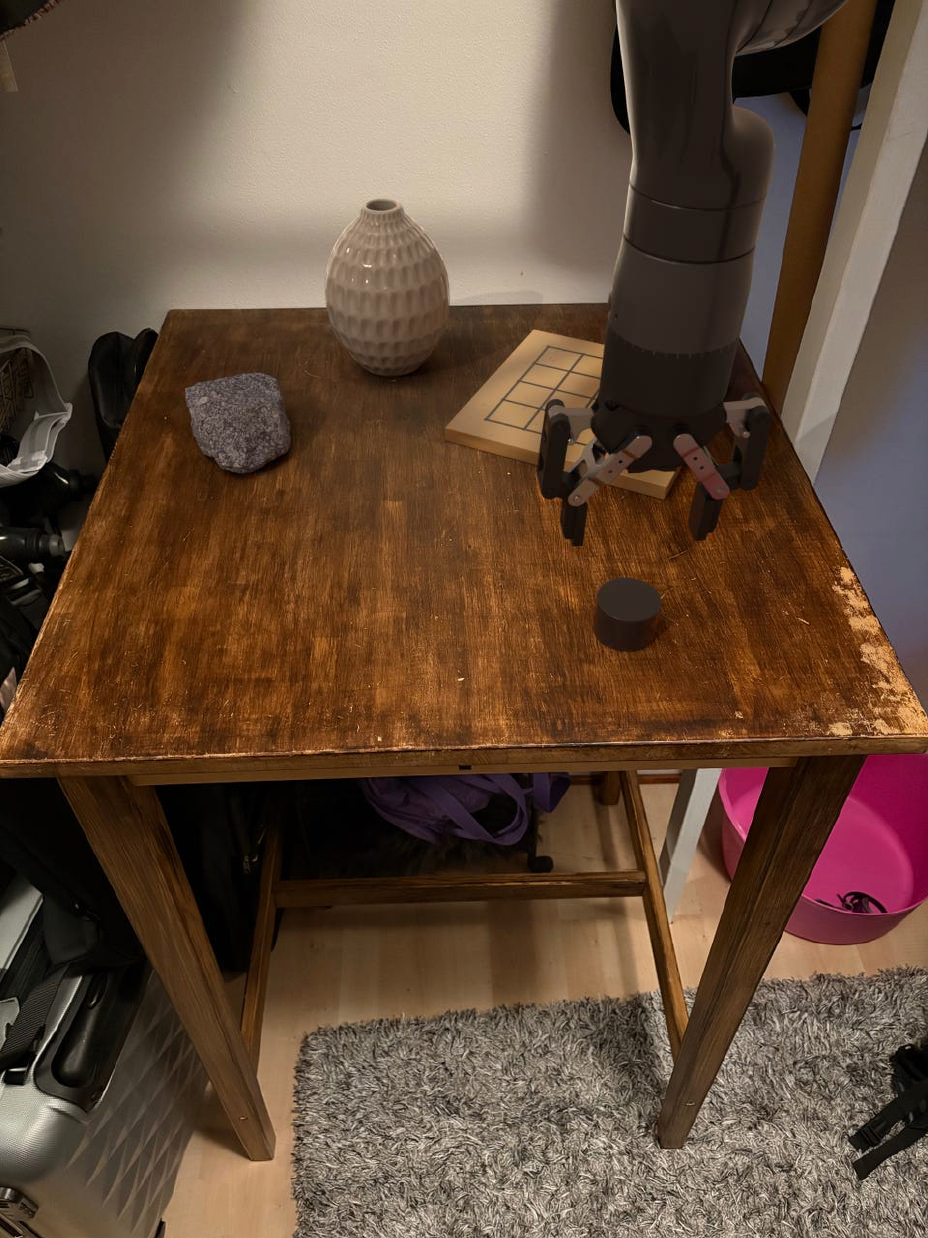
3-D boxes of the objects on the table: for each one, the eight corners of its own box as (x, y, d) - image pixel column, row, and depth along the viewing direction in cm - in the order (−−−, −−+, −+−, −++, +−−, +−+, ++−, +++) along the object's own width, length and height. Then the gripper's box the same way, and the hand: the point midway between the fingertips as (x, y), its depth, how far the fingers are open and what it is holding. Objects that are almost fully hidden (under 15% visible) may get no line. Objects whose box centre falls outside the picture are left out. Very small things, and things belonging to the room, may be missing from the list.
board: (726, 384, 95) (729, 371, 94) (664, 500, 81) (667, 485, 80) (533, 341, 102) (533, 328, 101) (444, 440, 88) (444, 426, 87)
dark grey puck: (663, 618, 70) (669, 588, 68) (644, 659, 67) (650, 629, 65) (604, 600, 72) (609, 570, 70) (583, 639, 69) (587, 609, 66)
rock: (166, 388, 86) (261, 349, 89) (184, 432, 91) (274, 393, 93) (214, 454, 80) (315, 409, 83) (231, 498, 84) (326, 454, 87)
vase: (469, 378, 96) (469, 217, 84) (353, 403, 93) (336, 240, 81) (426, 326, 105) (420, 173, 93) (318, 347, 101) (299, 191, 89)
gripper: (560, 353, 48) (541, 577, 60) (820, 343, 49) (752, 567, 61) (541, 290, 54) (527, 507, 65) (776, 282, 55) (721, 498, 66)
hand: (636, 536), depth 63 cm, fingers open, 8 cm apart
